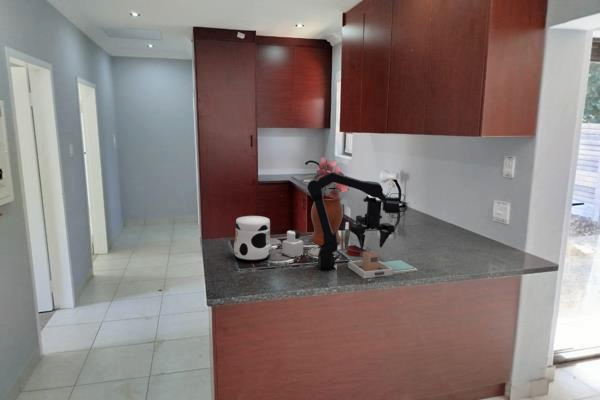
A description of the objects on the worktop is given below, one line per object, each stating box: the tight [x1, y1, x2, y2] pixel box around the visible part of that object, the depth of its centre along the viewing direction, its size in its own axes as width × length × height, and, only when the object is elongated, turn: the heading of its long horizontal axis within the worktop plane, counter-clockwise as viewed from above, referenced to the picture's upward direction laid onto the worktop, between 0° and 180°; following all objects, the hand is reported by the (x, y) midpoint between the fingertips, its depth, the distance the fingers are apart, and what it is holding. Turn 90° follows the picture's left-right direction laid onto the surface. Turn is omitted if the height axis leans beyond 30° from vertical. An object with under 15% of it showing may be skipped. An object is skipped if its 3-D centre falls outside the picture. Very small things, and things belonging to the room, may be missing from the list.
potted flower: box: [310, 156, 350, 246], centre depth 213 cm, size 19×25×45 cm
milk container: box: [233, 215, 272, 262], centre depth 186 cm, size 17×17×18 cm
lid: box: [381, 259, 418, 275], centre depth 180 cm, size 13×12×1 cm
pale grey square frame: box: [347, 259, 394, 279], centre depth 174 cm, size 14×15×2 cm
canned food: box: [345, 235, 368, 258], centre depth 198 cm, size 11×10×10 cm
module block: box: [361, 250, 380, 271], centre depth 174 cm, size 5×5×8 cm
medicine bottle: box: [282, 229, 304, 257], centre depth 192 cm, size 7×7×12 cm
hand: (371, 248), depth 173 cm, fingers open, 9 cm apart
